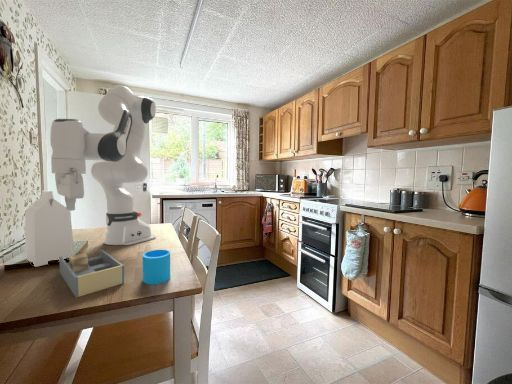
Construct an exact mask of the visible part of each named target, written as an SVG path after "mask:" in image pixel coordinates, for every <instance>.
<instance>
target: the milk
mask: <svg viewBox="0 0 512 384" xmlns="http://www.w3.org/2000/svg"><path fill="white" fill-rule="evenodd" d="M53 193H54V192H53V190H48V189H47V190H44V189H43V190H42V191H41V196H40V198H39V199H36V200H35V201H34V202H32V203H31V205H30V206H28V208H26V209H25V212H24V220H25V221H24V230H25V231H24V234H25V235H24V239H25V240H24V241H25V242H24V249H25V250H24V255H25V256H24V258H25V259H27V260H29V261H31V262H33V264H34V265H33V266H34V267H35V268H36V267H40V266H45V265H49V264H48V261H50V260H53V259H58V258H59V257H61V256H62V258H63V257H67V256H71V255H75V248H74V246H75V245H74V236H73V225H72V215H71V211H69V210H67V209H66V205H64V204H62V203H60V202H59V201H57V200H56V199H55V197H54V194H53ZM27 260H26V261H27Z"/></svg>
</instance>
